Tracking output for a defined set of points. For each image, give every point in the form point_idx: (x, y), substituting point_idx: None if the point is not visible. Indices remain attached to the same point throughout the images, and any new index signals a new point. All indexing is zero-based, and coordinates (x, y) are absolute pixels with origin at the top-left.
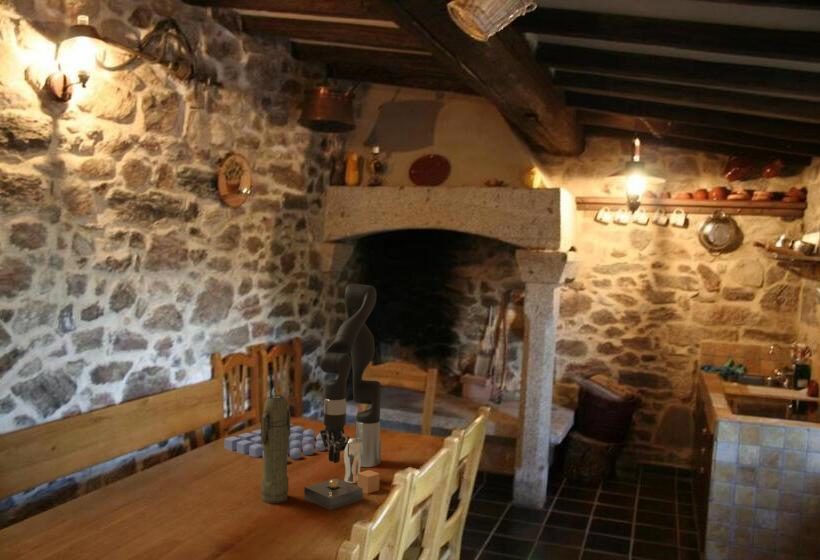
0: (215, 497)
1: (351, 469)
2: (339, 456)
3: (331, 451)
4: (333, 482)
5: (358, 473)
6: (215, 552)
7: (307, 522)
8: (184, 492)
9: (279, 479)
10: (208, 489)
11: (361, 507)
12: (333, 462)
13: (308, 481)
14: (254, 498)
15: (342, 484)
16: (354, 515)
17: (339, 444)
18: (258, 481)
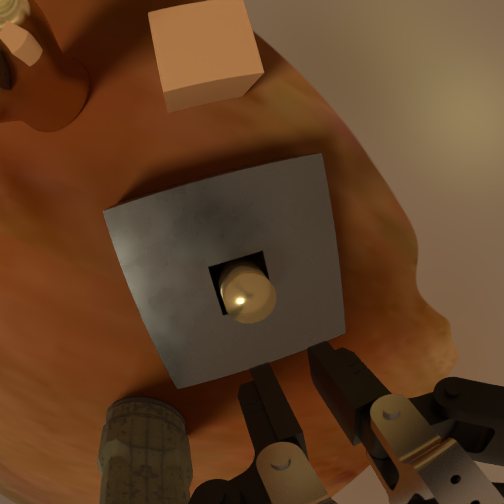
0: None
1: (52, 94)
2: (370, 373)
3: (304, 453)
4: (271, 307)
5: (171, 89)
6: (349, 481)
7: None
8: (74, 500)
9: (188, 482)
10: (59, 481)
11: (359, 199)
12: (315, 381)
13: (5, 280)
14: None
15: (219, 222)
16: (394, 253)
17: (484, 456)
18: (4, 405)
